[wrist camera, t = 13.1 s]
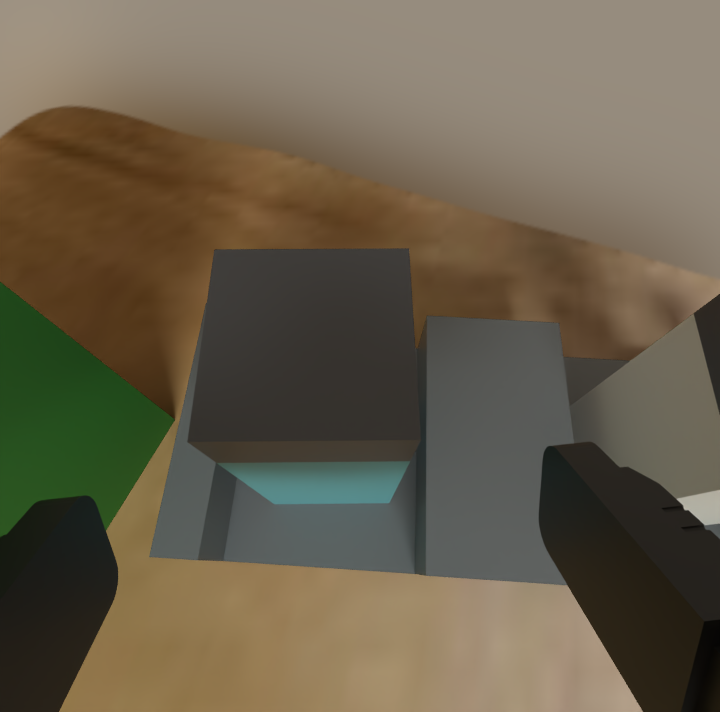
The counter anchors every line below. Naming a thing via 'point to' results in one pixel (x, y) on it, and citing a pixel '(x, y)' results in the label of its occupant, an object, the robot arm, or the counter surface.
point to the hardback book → (66, 419)
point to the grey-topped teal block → (309, 373)
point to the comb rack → (413, 470)
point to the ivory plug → (665, 413)
